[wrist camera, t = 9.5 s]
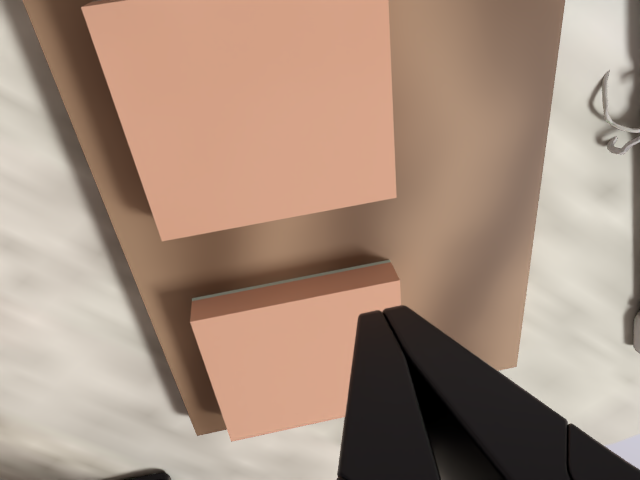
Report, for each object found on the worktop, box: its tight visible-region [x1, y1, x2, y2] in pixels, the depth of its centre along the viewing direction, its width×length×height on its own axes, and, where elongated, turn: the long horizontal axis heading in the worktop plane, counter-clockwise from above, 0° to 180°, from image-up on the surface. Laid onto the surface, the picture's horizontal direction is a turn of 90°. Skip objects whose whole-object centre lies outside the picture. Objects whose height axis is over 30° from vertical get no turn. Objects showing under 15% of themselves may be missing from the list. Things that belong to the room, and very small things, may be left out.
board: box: [22, 0, 565, 436], centre depth 22 cm, size 18×22×1 cm
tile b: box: [81, 0, 397, 241], centre depth 17 cm, size 2×8×9 cm
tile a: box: [190, 260, 401, 442], centre depth 24 cm, size 2×8×9 cm
